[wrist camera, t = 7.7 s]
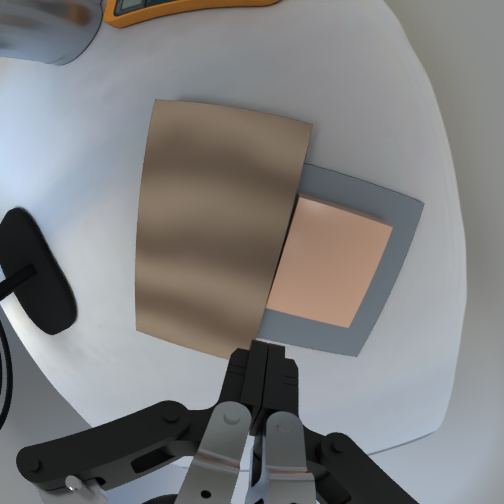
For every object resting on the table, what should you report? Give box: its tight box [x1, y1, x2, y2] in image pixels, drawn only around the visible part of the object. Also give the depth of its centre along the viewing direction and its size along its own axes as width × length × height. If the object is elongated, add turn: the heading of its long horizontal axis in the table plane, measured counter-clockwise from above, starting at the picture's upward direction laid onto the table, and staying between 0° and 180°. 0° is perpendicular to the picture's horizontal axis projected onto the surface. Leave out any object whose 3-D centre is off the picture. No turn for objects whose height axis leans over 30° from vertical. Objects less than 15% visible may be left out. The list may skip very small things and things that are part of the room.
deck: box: [135, 99, 313, 360], centre depth 23 cm, size 22×12×4 cm, turn 168°
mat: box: [256, 163, 424, 357], centre depth 25 cm, size 18×12×1 cm, turn 168°
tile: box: [265, 192, 393, 328], centre depth 23 cm, size 10×8×2 cm
